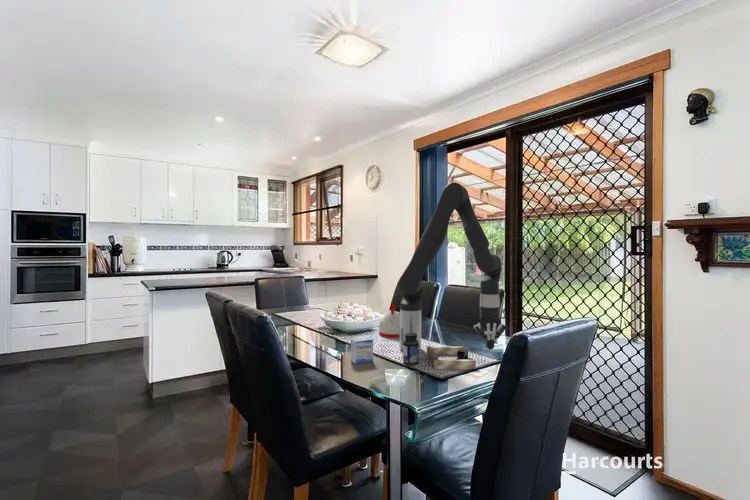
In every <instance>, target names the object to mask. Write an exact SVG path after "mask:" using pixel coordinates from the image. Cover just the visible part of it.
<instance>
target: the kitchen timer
mask: <svg viewBox="0 0 750 500" xmlns="http://www.w3.org/2000/svg"><path fill="white" fill-rule="evenodd" d="M390 307H391V308H390V310H389V311H388V312H387V313H385V315H384V316H383V317H382V319H381V320H380V321H379V329H378V330H379V332H378V334H379V336H380V337H383V338H389V339H390V338H393V339H394V338H395V339H396V338H399V337H400V312H397V311H396V309H395V304H391V306H390Z"/></svg>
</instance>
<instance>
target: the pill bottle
mask: <svg viewBox="0 0 750 500" xmlns="http://www.w3.org/2000/svg"><path fill="white" fill-rule="evenodd" d="M405 338H406V340H404V341H403V350H402V354H403V356H402V358H403V359H402V361H403V363H404V364H405V365H409V366H411V365H412V366H413V365H417V364H419V363H420V350H419V342H418V340H416V338H417V334H415V333H406V334H405Z"/></svg>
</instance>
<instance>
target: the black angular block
mask: <svg viewBox="0 0 750 500" xmlns="http://www.w3.org/2000/svg"><path fill="white" fill-rule="evenodd" d="M455 360H474V358H472V357H469V349H464V348H463V349H460V350H458V353H457V356H456V358H455Z"/></svg>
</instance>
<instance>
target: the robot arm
mask: <svg viewBox="0 0 750 500" xmlns="http://www.w3.org/2000/svg"><path fill="white" fill-rule="evenodd" d="M454 211H456V213H457V215H458V217H459V218H460V220H461V224H462V227H463V231H464V234H465V237H466V239H467V241H468V243H469V245H470V247H471V249H472V253H473V257H474V260H475V261H474V262H475V264H476V266H477V268H478V270H479V271H480V272H482V273H484V274H483V278H482V279H481V280H480V286H479V287H480V289H479V291H480V294H479V320H478V323H477V324H475V325H473V328H474V330H475V331H476V332H477V333H478V334H479V335H480V337H481V338H482V339H485V346H486V348H487V349H488V350H494V348H495V340H496V339H500V337H501V335H502V334H503V333H504V332H505V330H506V329H507V326H506V325H505V324H504V323H502V320H501V307H500V306H501V303H500V278H501V272H502V260H501V258H500V256H498V255H496V254H491V252H490V249H489V247H490V241H489V239H488V237H487V235H486V233H485V231H484V230H483V227H482V226H481V224H480V222H479V219H478V218H477V216H476V213H475V211H474V208H473V205H472V201H471V199H470V195H469V192H468V190H467V188H466V187H464V186H463V185H462V184H460V183H458V182H454V181H453V182H450V183H448V184H446V186H445V187H443V189H442V191H441V194H440V197H439V200H438V202H437V205H436V208H435V210H434V212H433V214H432V216H431V218H430V220H429V222H428V224H427V226H426V227H425V229H424V231H423V233H422V235H421V237H420V239H419V241H418V243H417V246H416V248H415V250H414V253H413V254H412V258H411V260H410V262H409V263H408V265H407V267H406V268H405V270H404V271H403V272H402V274H401V276H400V278H399V279H398V289H399V292H401V293H402V296H401V300H400V302H399V303H400V304H399V314H400V337H398V338H399V345H398V346H399V349H400V351H403V341H404V340H406V338H405V334H406V333H415V334H417V338H416V340H418V342H419V351H420V350H422V305H423V295H424V294H423V291H424V283H423V282H424V281H423V275H424V274H425V271H426V270H427V268H428V267H429V266H430V264H431V262H432V261H433V260H434V259H435V258H436V257H437V255H438V253H439V251H440V250H441V248H442V245H443V244H444V242H445V240H446V237H447V233H448V228H449V223H450V219H451V217H452V215H453V213H454ZM481 328H482V329H483V331H484V332H483V331H482V330H481Z"/></svg>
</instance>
